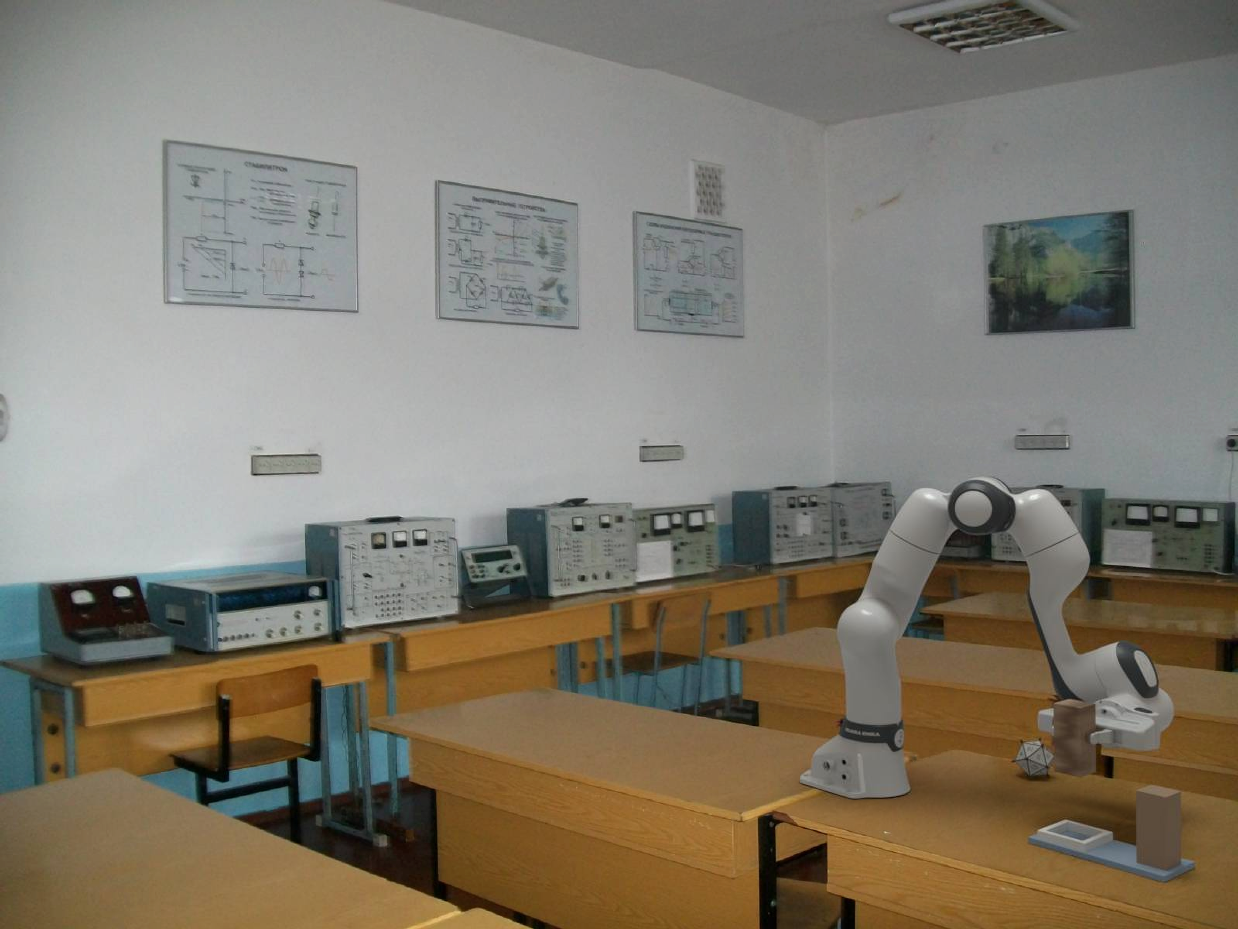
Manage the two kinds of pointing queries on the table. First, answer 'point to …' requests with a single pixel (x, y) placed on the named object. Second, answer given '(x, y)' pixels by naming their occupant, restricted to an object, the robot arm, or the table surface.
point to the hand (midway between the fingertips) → (1071, 735)
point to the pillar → (1074, 737)
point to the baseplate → (1148, 858)
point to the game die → (1034, 758)
